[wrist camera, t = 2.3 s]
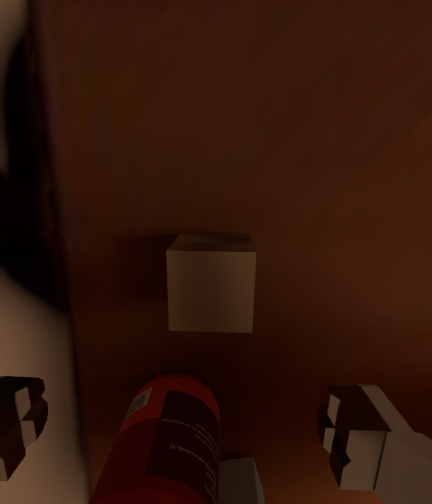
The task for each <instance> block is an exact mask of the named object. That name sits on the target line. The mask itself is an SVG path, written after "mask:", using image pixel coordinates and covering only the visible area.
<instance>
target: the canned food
mask: <svg viewBox="0 0 432 504" xmlns="http://www.w3.org/2000/svg"><path fill="white" fill-rule="evenodd" d="M219 455H220V412H219V407H218V404H217V401H216V399H215V396H214V394H213V393H212V391H211V390H210V388H209V387H208V386H207V385H206V384H205V383H203V382H202V381H200V380H199V379H197V378H195V377H193V376H190V375H186V374H182V373H168V374H163V375H160V376H157V377H155V378H153V379H151V380H150V381H148V382H147V383H146V384H145V385H144V386H143V387H142V388H141V389H140V390H139V391H138V393H137V394H136V395H135V396H134V399H133V401H132V403H131V405H130V407H129V410H128V412H127V414H126V417H125V419H124V422H123V424H122V426H121V429H120V431H119V433H118V436H117V438H116V440H115V443H114V445H113V447H112V450H111V452H110V455H109V457H108V459H107V462H106V464H105V466H104V469H103V471H102V473H101V476H100V478H99V480H98V483H97V485H96V487H95V490H94V492H93V495H92V497H91V499H90V502H89V504H219Z"/></svg>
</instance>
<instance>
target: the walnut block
mask: <svg viewBox="0 0 432 504" xmlns="http://www.w3.org/2000/svg"><path fill="white" fill-rule="evenodd" d="M166 257H167V287H168V317H169V331H195V332H228V333H252V328H253V309H254V290H255V271H256V250H255V248H254V245H253V243H252V240H251V238H250V235H242V234H192V233H180V234H179V235H178V237H177V238H176V239H175V240H174V242H173V243H172V244H171V245H170V246H169V248H168V249H167V250H166Z"/></svg>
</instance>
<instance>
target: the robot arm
mask: <svg viewBox="0 0 432 504" xmlns="http://www.w3.org/2000/svg"><path fill="white" fill-rule="evenodd" d="M44 391H45V387H44V382H43V380H42V379H40V378H33V377H14V376H5V377H4V376H0V481H8V480H9V478H10V477H11V475H12V474H13V472H14V471H15V470H16V468H17V467H18V465H19V464H20V463H21V461H22V460H23V458H24V457H25V455H26V454H25V447H27V446H28V445H30V444H31V443H33V442H34V441H35V440H37V438H38V437H39V435H40V434H41V432H42V431H43V429H44V426H45V423H46V421H47V416H48V405H47V402H46V401H45V400H44V399H43V398H42V397H41V395H42V394H43V392H44ZM319 397H320V399H321V401H322V403H323V404H322V405H321V406H320V407H319V408H318V410H317V429H318V433H319V437H320V440H321V443H322V446H323V447H324V448H325V449H326V450H327V451H328V452H329V453H330V461H329V464H330V466H331V469H332V471H333V474H334V476H335V479H336V481H337V484H338V486H339V489H345V490H363V491H374V494H375V495H376V496H377V497H378V498H379V499H380V500H381V501H382V502H383V503H384V504H432V440H431V439H430V438H428V437H426V436H425V435H423V434H422V433H415V432H414V431H413V430H412V429H411V427H410V426H409V425H408V423H407V422H406V421H405V420H404V418H403V417H402V416H401V415H400V413H399V412H398V411H397V409H396V408H395V407H394V406H393V404H392V403H391V402H390V401H389V399H388V398H387V397H386V395H385V394H384V393H383V392H382V390H381V389H380V388H379V387H378V386H376V385H322V387H321V389H320V395H319Z"/></svg>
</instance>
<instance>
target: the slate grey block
mask: <svg viewBox="0 0 432 504" xmlns="http://www.w3.org/2000/svg"><path fill="white" fill-rule="evenodd" d="M219 504H265V499H264V494H263V490H262V487H261V483H260V479H259V476H258V472H257V468H256V465H255V461H254V458H253V456H252V457H246V458H239V459H233V460H227V461H221V462H219Z"/></svg>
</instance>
